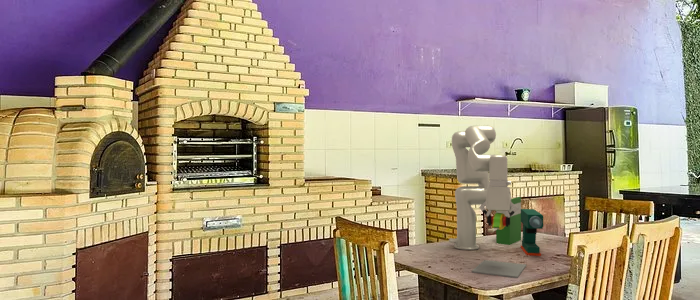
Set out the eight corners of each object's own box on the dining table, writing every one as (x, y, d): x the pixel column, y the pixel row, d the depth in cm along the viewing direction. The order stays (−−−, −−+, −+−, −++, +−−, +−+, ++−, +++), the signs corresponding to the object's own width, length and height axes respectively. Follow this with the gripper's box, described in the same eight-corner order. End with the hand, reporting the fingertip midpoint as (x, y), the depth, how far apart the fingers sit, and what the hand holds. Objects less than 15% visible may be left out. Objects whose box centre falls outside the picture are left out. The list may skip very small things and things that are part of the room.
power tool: (548, 262, 210) (548, 217, 210) (531, 262, 211) (531, 217, 211) (535, 248, 241) (534, 209, 241) (520, 247, 243) (520, 208, 243)
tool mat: (471, 272, 194) (471, 270, 194) (484, 261, 213) (484, 259, 213) (517, 278, 185) (517, 276, 185) (526, 265, 204) (526, 264, 204)
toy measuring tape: (510, 226, 205) (510, 211, 205) (497, 233, 189) (497, 216, 189) (496, 225, 209) (495, 210, 209) (482, 232, 193) (481, 215, 193)
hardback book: (507, 238, 267) (507, 196, 267) (521, 240, 263) (520, 197, 263) (496, 243, 253) (496, 198, 253) (509, 245, 249) (509, 199, 249)
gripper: (520, 183, 200) (521, 226, 200) (479, 183, 208) (479, 223, 208) (518, 185, 194) (519, 228, 193) (475, 184, 201) (476, 225, 201)
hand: (498, 225), depth 201 cm, fingers closed on toy measuring tape, 6 cm apart
